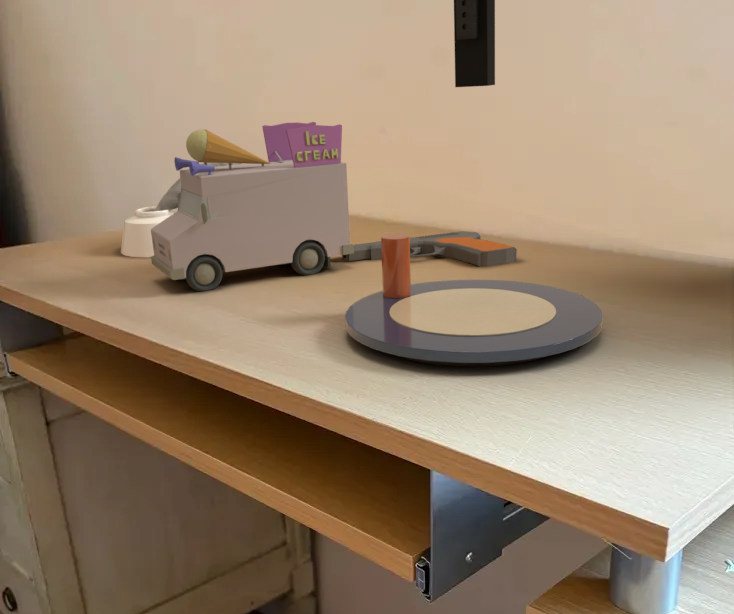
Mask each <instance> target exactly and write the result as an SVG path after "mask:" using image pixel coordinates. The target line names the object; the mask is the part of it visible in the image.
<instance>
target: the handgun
mask: <svg viewBox="0 0 734 614" xmlns="http://www.w3.org/2000/svg"><path fill="white" fill-rule="evenodd" d="M353 245H354V253H353V254H347V255H341V257H342V260H344V261H345V262H348V263H350V262H356V261H357V262H358V261H366V260H371V261H375V260H376V261H377V260H382V253H381V240H380V241H373V242H364V243H356V244H355V243H354V244H353ZM517 251H518V250H517V248H516V247H514V246H511V245H509V244H504V243H500V242H496V241H491V240H485V239H481V235H480V233H479V232H476V231H466V230H461V231H453V232H446V233H437V234H431V235H422V236H414V237H410V258H417V257H427V256H431V257H437V258H442V259H443V258H444V259H454V260H457V261H460V262H463V263H466V264H471V265H473V266H476V267H479V268H481V267H483V268H484V267H492V266H493V267H494V266H500V265H506V264H510V263H514V262H516V261H517V253H518V252H517Z"/></svg>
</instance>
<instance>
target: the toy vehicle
mask: <svg viewBox="0 0 734 614" xmlns="http://www.w3.org/2000/svg"><path fill="white" fill-rule="evenodd" d="M262 132H263V138H264V144H265V149H266V150H265V151H266V155H267V160H268V161H267V160H265V159H263V158H261V157H259V156H257V155H256V154H253V153H251V152H250V151H247V150H246V149H243V148H242V147H240V146H238V145H237V144H234V143H232V142H230V141H228V140H227V139H225V138H223V137H221V136H219V135H217V134H216V133H213V132H212V131H210V130H208V129H197V130H194V131H192V132H191V133H190V134H189V135H188V137H187V138H186V142H185V147H186V151H187V153H188V156H190V158H192V159H193V160H190V159H183V158H181V157H177V156H175V157H174V161H173V162H174V167H175V170H176V171H177V172H178V171H179V179H180V180H181V191H180V195H179V192H178V202H179V204H178V208H177V210H176V212H173V213H174V214H173V215H171V216H170V217H168V218H167V219H165V220H164V221H162V222H161V223H159V224H158V225H156V226H155V227H153V228H152V229H151V236H152V243H153V250H154V255H153V256H152V257H150V261H151V265H153V266H154V267H155V268H157V269H158V270H159V271H160V272H162V273H163V274H164V275H166V276H167V277H168V278H170V279H171V280H173V281H176V280H183V281H184V280H185V281H186V283H187V285H188V286H189V287H190V288H191V289H192V290H194V291H195V292H201V293H202V292H209V291H214V290H215V289H217V288H218V286H220V283H221V281H222V280H223V275H224V273H223V272H225V273H229V272H235V271H236V272H237V271H243V270H249V269H250V270H251V269H258V268H264V267H269V266H271V267H272V266H277V265H282V266H288V265H290V266H291V268H292V269H293V270H294V272H296V274H299V275H300V276H312V275H316V274H318V273H319V272H320V271H321V270H322V269H323V268H325V269H330V268H331V258H332V257H336V256H342V255H347V254H353V253H354V245H355V244H352V243H351V235H350V215H349V214H350V212H349V211H350V210H349V192H348V191H349V190H348V169H347V162H343V161H342V142H343V141H342V140H343V138H342V137H343V125H342V124H335V125H320V124H317V122H315V121H311V122H306V123H305V122H298V121H297V122H282V123H277V124H272V125H266V124H264V125H262ZM202 163H204V164H205V165H202ZM207 163H229V165H228V166H217V167H214V166H209V165H207ZM231 163H241V164H239V165H231Z"/></svg>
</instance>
